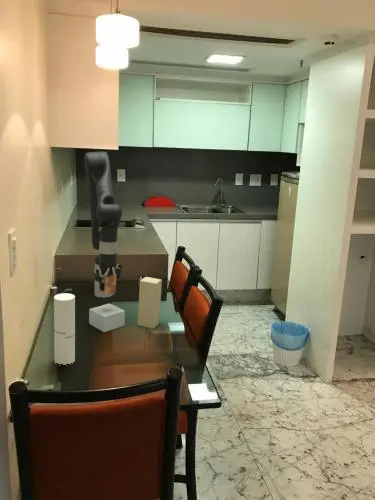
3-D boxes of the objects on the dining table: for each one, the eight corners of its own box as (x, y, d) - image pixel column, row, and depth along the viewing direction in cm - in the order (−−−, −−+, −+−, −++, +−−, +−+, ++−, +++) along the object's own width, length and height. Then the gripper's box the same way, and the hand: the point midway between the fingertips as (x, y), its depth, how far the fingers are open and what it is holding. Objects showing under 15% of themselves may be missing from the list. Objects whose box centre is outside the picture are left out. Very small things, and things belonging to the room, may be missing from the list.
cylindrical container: (56, 355, 167) (56, 292, 160) (76, 356, 167) (76, 293, 161) (52, 365, 160) (52, 300, 153) (73, 365, 160) (73, 300, 154)
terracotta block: (108, 289, 196) (109, 272, 194) (115, 292, 192) (116, 275, 190) (99, 291, 192) (99, 274, 190) (106, 295, 189) (106, 277, 187)
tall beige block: (160, 322, 202) (162, 278, 197) (153, 328, 195) (156, 283, 190) (144, 319, 204) (146, 276, 199) (137, 325, 197) (139, 280, 192)
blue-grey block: (109, 317, 204) (109, 303, 202) (124, 325, 196) (125, 310, 195) (89, 323, 196) (89, 309, 194) (104, 332, 189) (104, 316, 187)
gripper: (116, 247, 195) (115, 283, 200) (88, 251, 185) (88, 290, 189) (127, 250, 190) (126, 288, 195) (99, 255, 180) (98, 295, 184)
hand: (107, 289), depth 192 cm, fingers closed on terracotta block, 5 cm apart
